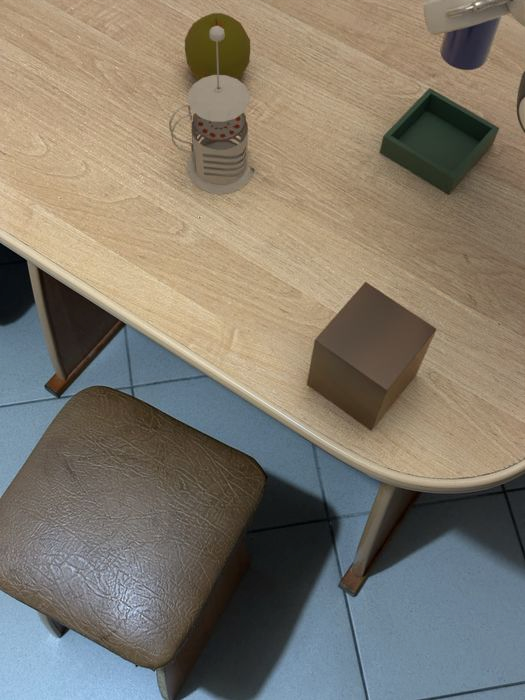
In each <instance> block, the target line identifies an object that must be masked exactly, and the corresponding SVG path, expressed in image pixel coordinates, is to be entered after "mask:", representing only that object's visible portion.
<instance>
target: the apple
mask: <svg viewBox="0 0 525 700" xmlns="http://www.w3.org/2000/svg"><path fill="white" fill-rule="evenodd" d="M214 26H220V27H221V28H223V29H224V33H225V38H224V39H223V40H222V41H218V67H219V75H226V76H229V77H232V78H235V79H237V80H239V81H240V78H241V77H242V75H243V74H244V72H245V71H246V69H247V67H248V66H249V64H250V59H251V39H250V37H249V35H248V33H247V31H246V30H245V28H244V26H243V25H242V23H241V22H240V21H239V20H237V19H235V17H233V16H231V15H228V14H224V13H223V12H213V13H210V14H206V15H204V16H202V17H200V18H199V19H197V20H196V21H195V22H193V23H192V25H191V27H189V29H188V31H187V34H186V35H185V38H184V53H185V58H186V64H187V66H188V68H189V70H190V73H192V75H193V76H194V78H195V79H196V81H199V80H200V79H202V78H205V77H208V76H212V75H217V52H216V41H212V40H211V39H210V37H209V36H210V29H211V28H212V27H214Z"/></svg>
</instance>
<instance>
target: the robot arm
mask: <svg viewBox="0 0 525 700" xmlns="http://www.w3.org/2000/svg"><path fill="white" fill-rule="evenodd" d="M422 10H423V15H424V16H423V17H424V22H425V26H426V29H427V31H428V33H429V34H430V35H431V36H437V35H443V34H444V33H447V32H451V31H455V30H459V29H463V28H467V27H470V26H474V25H477V24H480V23H483V22H486V21H489V20H492V19H495V18H498V17H501V16H502V17H504V16H507V15H511V16H512V17H513V19H515V21H517V23H519V24H520V25H521V26H523V27H525V0H427V1H426V2H425V3H424V4H423V9H422ZM502 17H501V18H502ZM517 90H518V91H517V97H516V117H517V120H518V123H519V126H520V128H521V129H522V132H523V133H524V134H525V70H524V71H523V73H522V74H521V78H520V81H519V86H518V89H517Z"/></svg>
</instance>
